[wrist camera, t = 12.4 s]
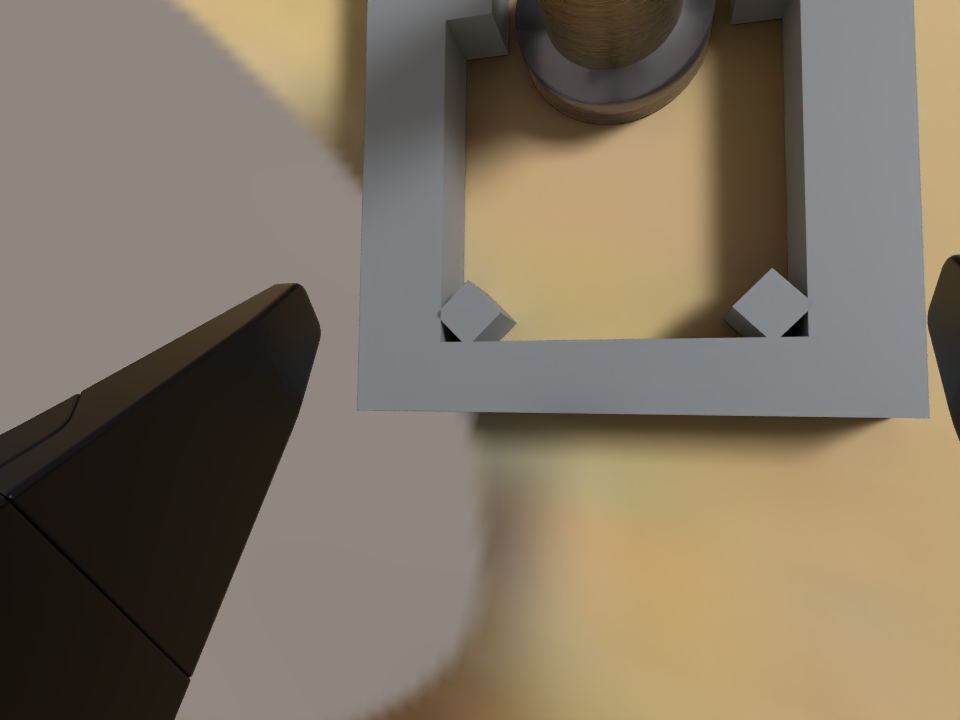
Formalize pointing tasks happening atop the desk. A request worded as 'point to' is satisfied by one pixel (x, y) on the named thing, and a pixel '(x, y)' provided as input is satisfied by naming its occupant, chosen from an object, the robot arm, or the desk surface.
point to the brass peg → (612, 53)
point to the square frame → (655, 362)
